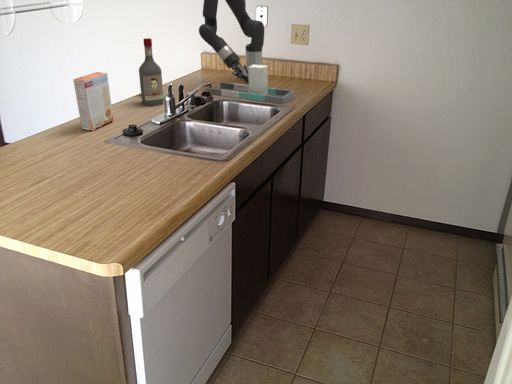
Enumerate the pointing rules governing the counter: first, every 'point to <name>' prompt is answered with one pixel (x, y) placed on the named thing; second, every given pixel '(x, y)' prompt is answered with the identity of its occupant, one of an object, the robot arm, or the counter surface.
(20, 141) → the counter surface
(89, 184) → the counter surface
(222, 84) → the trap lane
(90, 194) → the counter surface
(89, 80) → the cracker box
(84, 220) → the counter surface
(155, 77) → the liquor
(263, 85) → the skincare box
